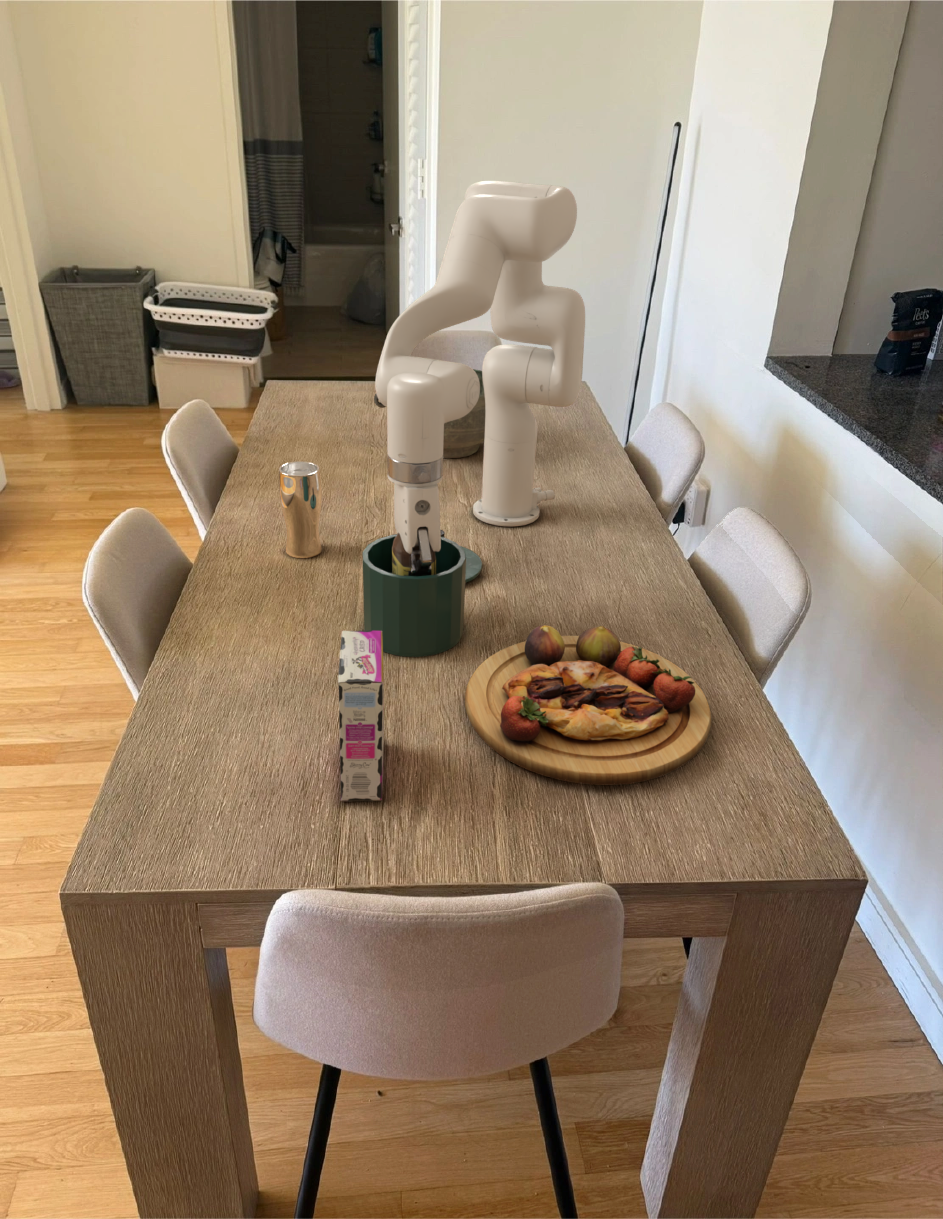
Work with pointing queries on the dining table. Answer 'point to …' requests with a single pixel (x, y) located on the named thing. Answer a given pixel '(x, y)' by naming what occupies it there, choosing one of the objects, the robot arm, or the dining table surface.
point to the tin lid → (470, 563)
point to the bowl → (463, 428)
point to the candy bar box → (361, 715)
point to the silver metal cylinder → (301, 507)
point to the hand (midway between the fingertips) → (414, 582)
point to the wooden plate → (587, 708)
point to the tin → (414, 600)
